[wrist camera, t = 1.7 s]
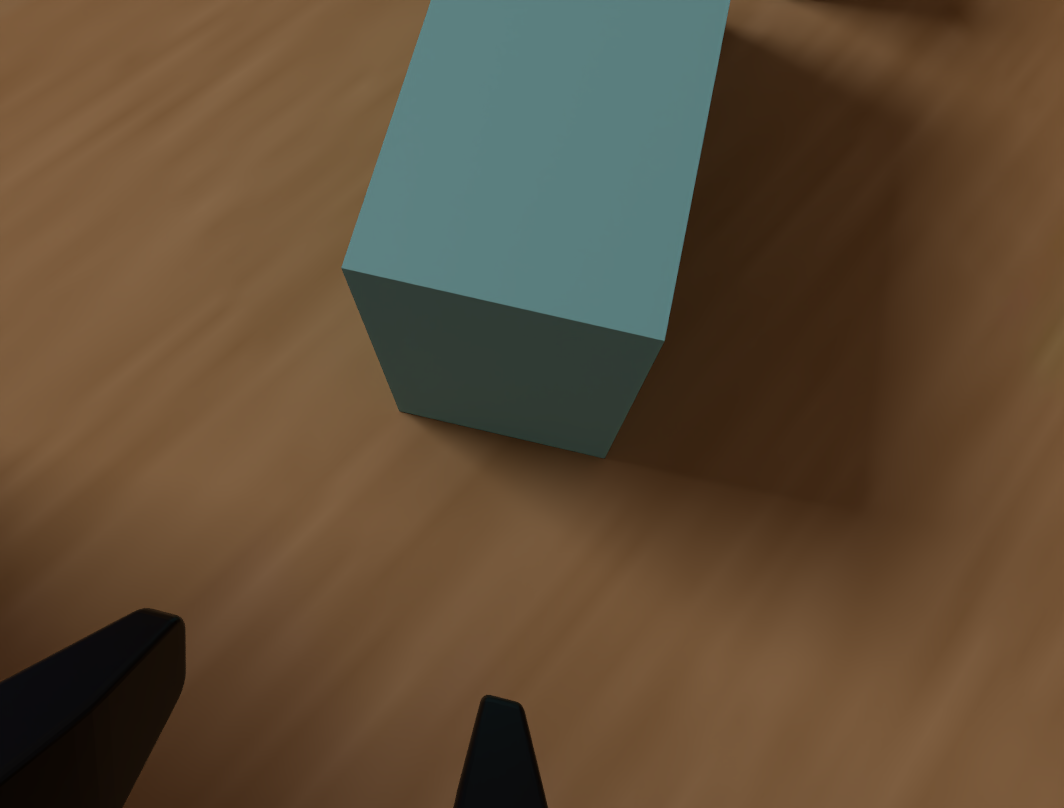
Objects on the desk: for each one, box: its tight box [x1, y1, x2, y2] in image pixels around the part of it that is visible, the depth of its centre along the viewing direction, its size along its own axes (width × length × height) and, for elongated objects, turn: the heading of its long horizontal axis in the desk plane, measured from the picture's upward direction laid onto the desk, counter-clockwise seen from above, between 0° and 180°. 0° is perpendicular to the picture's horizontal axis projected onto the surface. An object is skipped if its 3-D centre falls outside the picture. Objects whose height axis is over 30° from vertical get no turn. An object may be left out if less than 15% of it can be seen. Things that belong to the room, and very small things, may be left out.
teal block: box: [342, 0, 730, 458], centre depth 21 cm, size 16×6×9 cm, turn 167°
